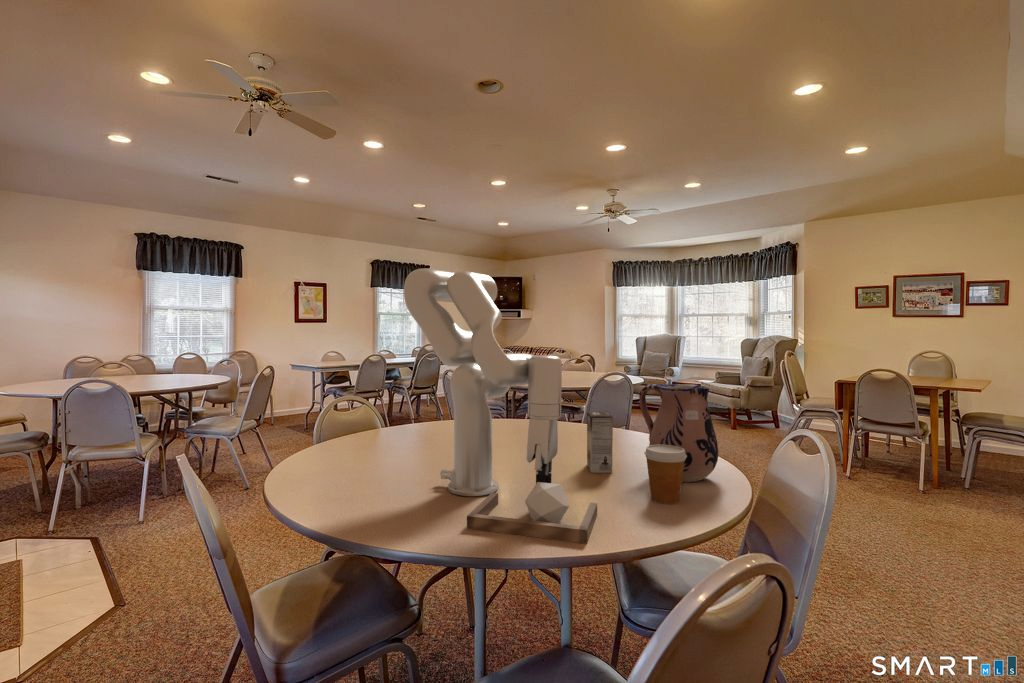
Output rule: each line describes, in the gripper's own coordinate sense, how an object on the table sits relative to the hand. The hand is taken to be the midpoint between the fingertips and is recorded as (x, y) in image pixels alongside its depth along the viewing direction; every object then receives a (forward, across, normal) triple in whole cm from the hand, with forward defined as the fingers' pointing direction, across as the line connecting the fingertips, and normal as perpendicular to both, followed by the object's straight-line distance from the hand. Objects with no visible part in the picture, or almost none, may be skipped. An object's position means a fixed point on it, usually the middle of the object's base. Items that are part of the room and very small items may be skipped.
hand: (543, 490), depth 110 cm
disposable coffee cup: (+3, -13, +26) cm, 29 cm away
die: (+4, +9, +3) cm, 10 cm away
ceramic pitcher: (+3, -34, +28) cm, 44 cm away
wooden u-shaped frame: (+3, +10, +1) cm, 10 cm away
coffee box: (+4, -35, +7) cm, 36 cm away
